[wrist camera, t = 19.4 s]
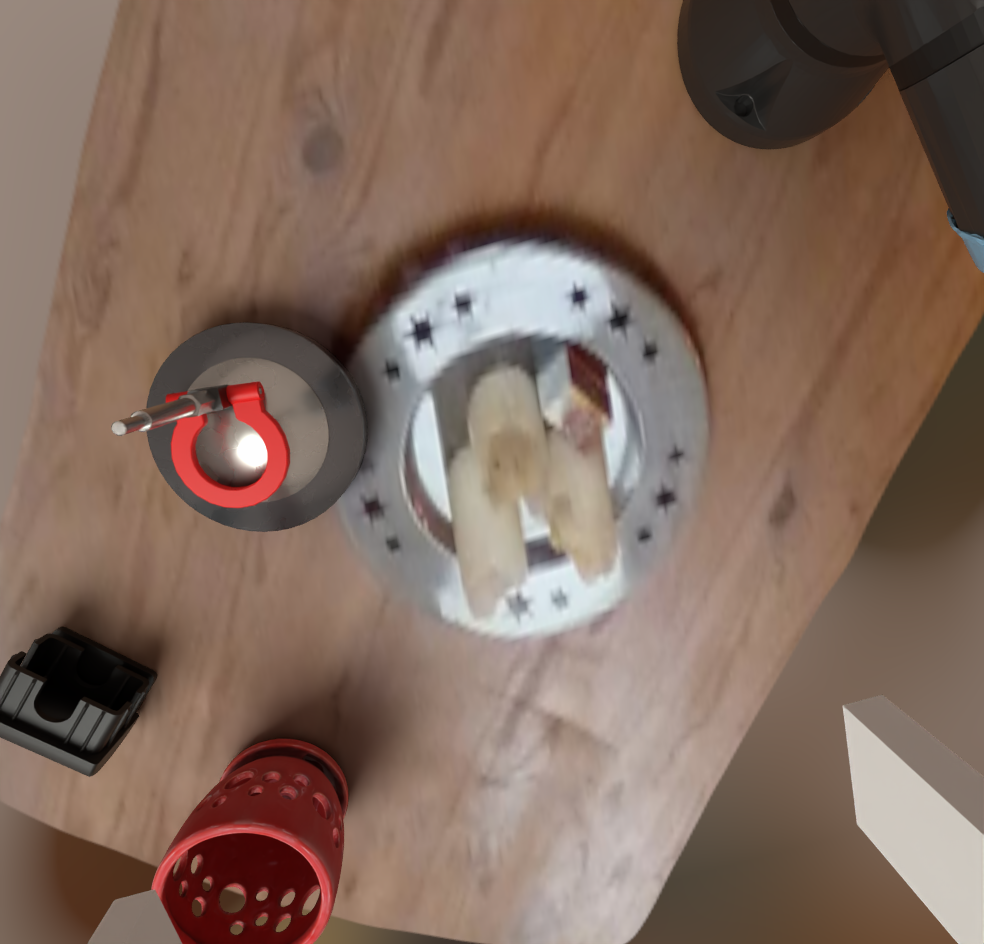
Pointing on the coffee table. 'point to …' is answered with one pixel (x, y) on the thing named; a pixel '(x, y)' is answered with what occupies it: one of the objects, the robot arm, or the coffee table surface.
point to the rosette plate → (288, 399)
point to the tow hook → (193, 419)
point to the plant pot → (260, 847)
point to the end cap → (71, 699)
